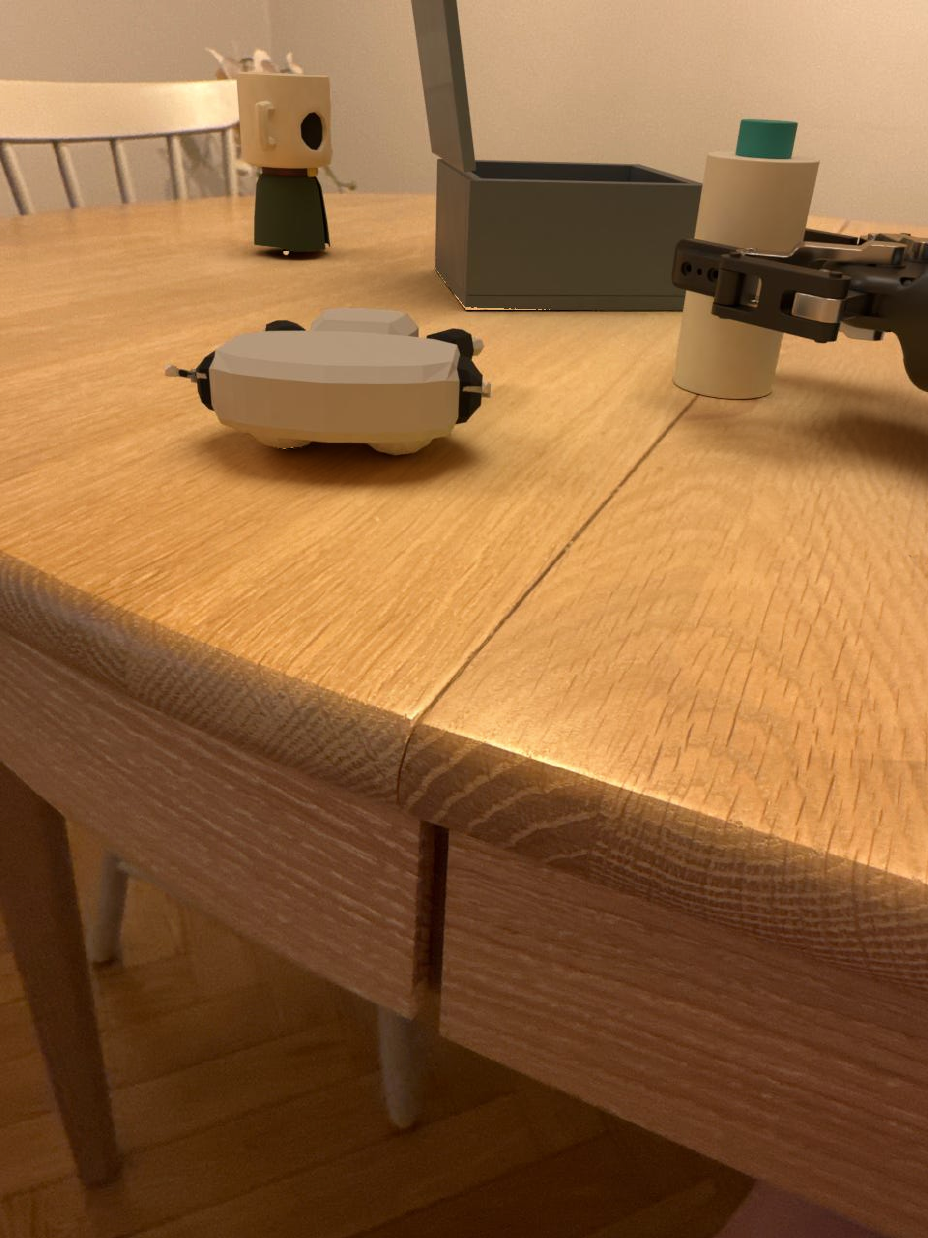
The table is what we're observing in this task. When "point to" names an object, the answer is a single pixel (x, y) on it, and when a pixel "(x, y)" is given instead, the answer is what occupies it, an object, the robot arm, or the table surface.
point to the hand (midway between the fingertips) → (735, 254)
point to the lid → (444, 81)
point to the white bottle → (744, 217)
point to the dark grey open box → (562, 234)
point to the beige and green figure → (287, 155)
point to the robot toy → (343, 381)
